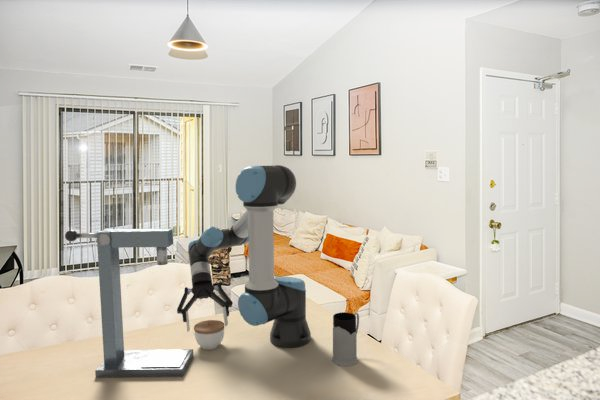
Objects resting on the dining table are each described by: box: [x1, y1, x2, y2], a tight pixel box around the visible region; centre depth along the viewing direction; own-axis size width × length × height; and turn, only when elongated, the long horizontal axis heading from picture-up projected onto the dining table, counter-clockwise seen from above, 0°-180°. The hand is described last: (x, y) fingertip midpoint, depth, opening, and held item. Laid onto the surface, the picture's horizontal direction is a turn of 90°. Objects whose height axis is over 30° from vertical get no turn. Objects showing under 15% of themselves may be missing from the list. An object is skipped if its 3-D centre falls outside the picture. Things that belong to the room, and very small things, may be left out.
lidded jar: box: [193, 319, 225, 350], centre depth 156 cm, size 11×11×9 cm
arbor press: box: [64, 228, 194, 379], centre depth 139 cm, size 37×14×45 cm, turn 90°
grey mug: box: [331, 311, 360, 367], centre depth 146 cm, size 9×14×15 cm, turn 145°
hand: (207, 327), depth 156 cm, fingers open, 13 cm apart
